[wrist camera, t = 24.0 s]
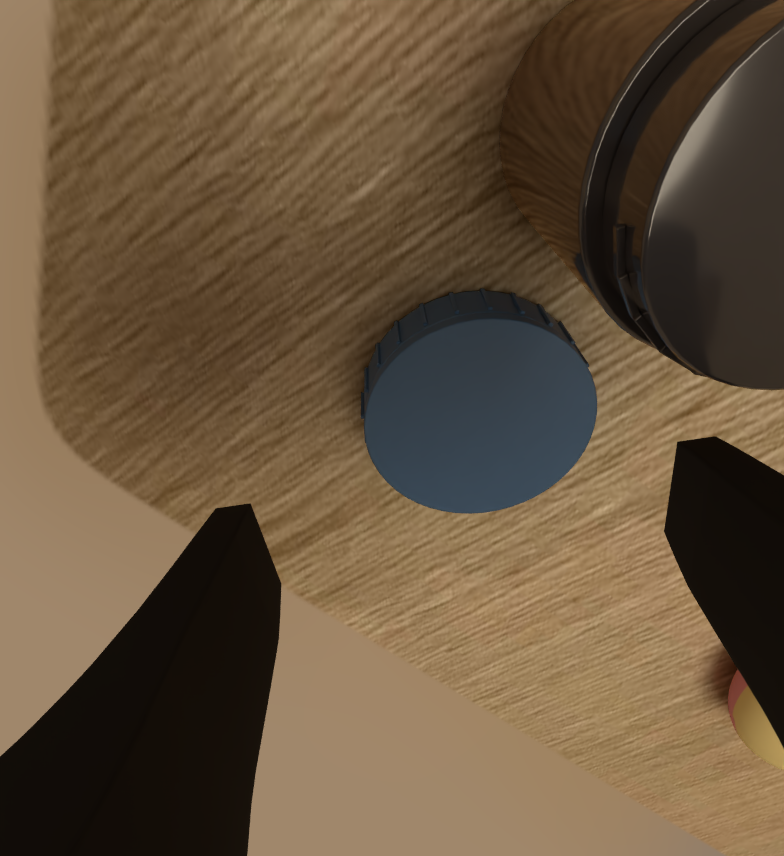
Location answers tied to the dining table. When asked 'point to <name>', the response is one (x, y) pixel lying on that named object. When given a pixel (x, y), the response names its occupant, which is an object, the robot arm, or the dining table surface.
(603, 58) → the jar
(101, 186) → the dining table surface
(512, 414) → the lid
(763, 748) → the donut
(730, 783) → the dining table surface
